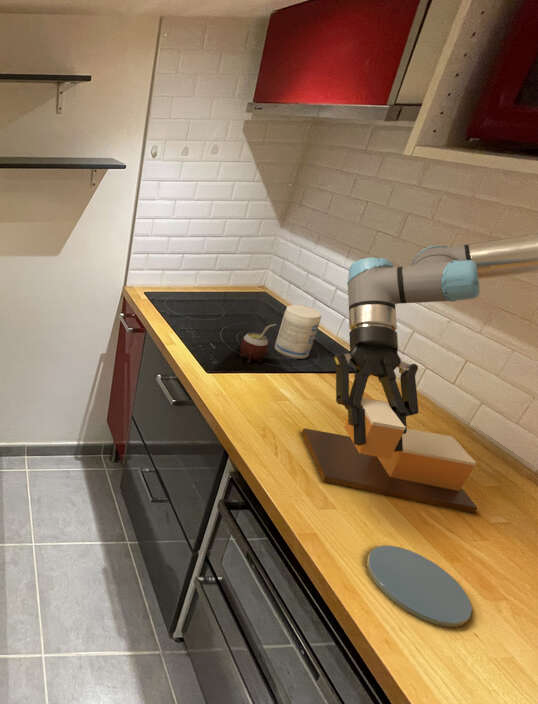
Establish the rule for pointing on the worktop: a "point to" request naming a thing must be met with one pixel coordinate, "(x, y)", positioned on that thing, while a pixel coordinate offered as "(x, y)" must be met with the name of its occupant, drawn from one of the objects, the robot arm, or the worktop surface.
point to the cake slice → (378, 429)
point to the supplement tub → (297, 331)
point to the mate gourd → (254, 346)
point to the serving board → (373, 473)
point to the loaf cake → (430, 460)
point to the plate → (419, 586)
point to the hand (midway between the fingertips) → (377, 447)
